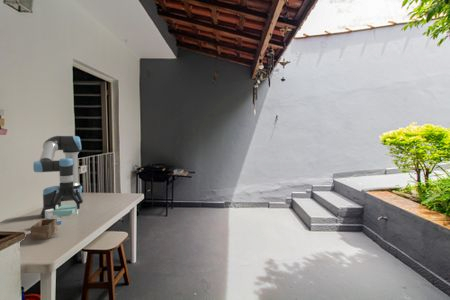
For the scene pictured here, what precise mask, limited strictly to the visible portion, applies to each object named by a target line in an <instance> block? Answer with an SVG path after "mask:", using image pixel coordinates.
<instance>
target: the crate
mask: <svg viewBox="0 0 450 300" xmlns="http://www.w3.org/2000/svg"><path fill="white" fill-rule="evenodd" d="M57 231H58V225H57V219H45V218H43V219H40V220H39V221H37V222H36V223H34V224H33V225H32V226H30V240H31V241H34V240H35V241H36V240H45V239H46V240H47V239H49V238H50V237H51V236H52V235H53V234H55V232H57Z"/></svg>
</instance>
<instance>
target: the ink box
mask: <svg viewBox="0 0 450 300" xmlns="http://www.w3.org/2000/svg"><path fill="white" fill-rule="evenodd" d="M52 211H54V209H49V210H45V218H44V219H57V226H59V225H62V216H61V217H58V215H57V216H55V215H52Z"/></svg>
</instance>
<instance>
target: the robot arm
mask: <svg viewBox="0 0 450 300" xmlns="http://www.w3.org/2000/svg"><path fill="white" fill-rule="evenodd" d="M81 150H82V141H81V138H80V136H78V135H55V136H52V137H48V139H46V140H45V141H44V142H43V144H42V152H41V155H40V159H39V160H35V161H33V163H32V164H33V167H32V168H33V171H34V173H52V172H59V185H53V186H49V187H46V188H44V189H43V190H42V205H43V206H42V210H41V212H40V218H42V219H45V210H49V209H54V210H55V209H57V208H58V207H60V206H61V205H62V202H69V201H70V202H71V201H74V202H75V204H76V211H75V215H78V214H79V210H80V208H81V204H82V203H83V202H84V200H83V198H82V191H83V186H82V185H81V183H80V182H79V166H78V165H79V164H78V163H79V162H78V155H79V153H80V152H81ZM57 151H62V153H63V154H64V157H65V158H60V159H59V160H55V155H56V152H57ZM55 216H57V215H55Z"/></svg>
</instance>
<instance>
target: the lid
mask: <svg viewBox="0 0 450 300" xmlns="http://www.w3.org/2000/svg"><path fill="white" fill-rule="evenodd" d="M75 213H76V203H75V204H61V206H60V207H58V208H57V209H55V210H54V211H52V215H58V217H61V218H62V217H70V216H71V215H73V214H75Z"/></svg>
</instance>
